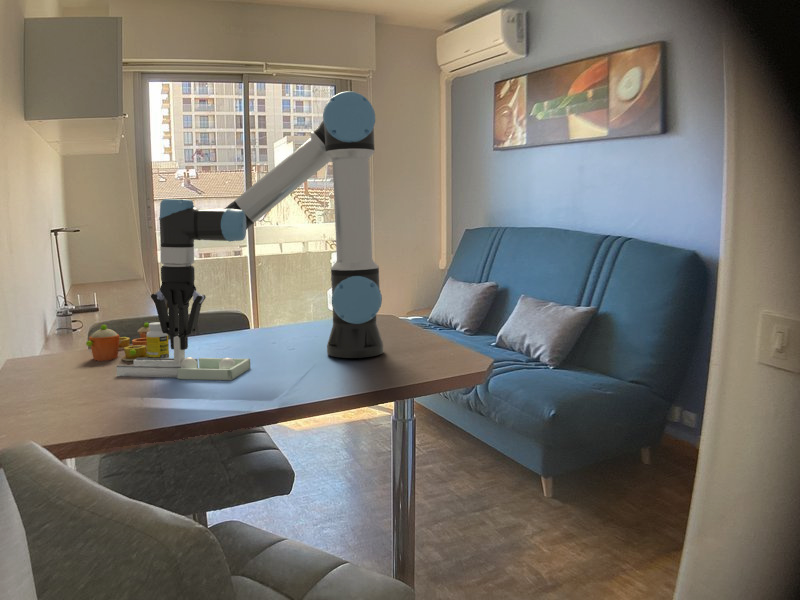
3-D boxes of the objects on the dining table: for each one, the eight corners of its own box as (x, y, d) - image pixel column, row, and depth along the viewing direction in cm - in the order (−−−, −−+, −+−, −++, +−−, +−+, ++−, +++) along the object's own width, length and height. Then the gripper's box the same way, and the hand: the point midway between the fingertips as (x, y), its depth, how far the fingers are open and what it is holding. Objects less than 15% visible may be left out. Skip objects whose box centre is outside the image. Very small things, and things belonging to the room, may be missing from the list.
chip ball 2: (223, 372, 153) (238, 371, 152) (217, 375, 149) (232, 374, 149) (221, 356, 153) (236, 355, 152) (215, 360, 149) (230, 359, 148)
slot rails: (198, 368, 157) (197, 358, 156) (180, 377, 148) (180, 367, 148) (137, 367, 159) (137, 357, 159) (117, 376, 150) (116, 365, 150)
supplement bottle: (162, 362, 165) (160, 325, 164) (143, 361, 166) (141, 324, 165) (173, 357, 170) (171, 321, 169) (155, 357, 171) (152, 321, 170)
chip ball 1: (188, 372, 154) (202, 367, 154) (181, 376, 151) (195, 371, 150) (182, 358, 154) (196, 353, 153) (175, 362, 150) (188, 356, 150)
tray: (250, 368, 156) (250, 358, 156) (231, 380, 145) (230, 370, 144) (200, 367, 158) (200, 357, 158) (177, 379, 146) (177, 369, 146)
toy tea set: (146, 363, 165) (143, 326, 164) (83, 365, 163) (80, 328, 162) (168, 344, 191) (166, 312, 190) (114, 346, 189) (112, 314, 188)
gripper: (210, 264, 152) (211, 360, 155) (160, 263, 154) (162, 358, 157) (196, 267, 145) (197, 367, 148) (143, 265, 146) (146, 364, 149)
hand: (179, 362), depth 152 cm, fingers closed
